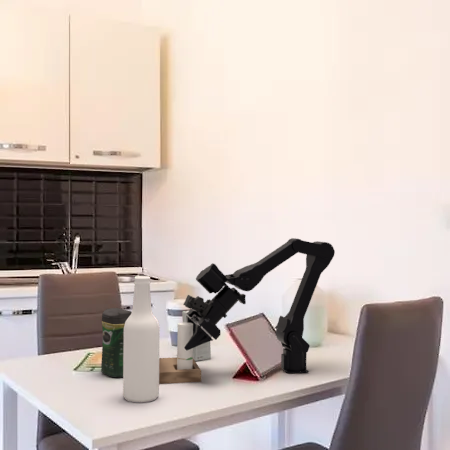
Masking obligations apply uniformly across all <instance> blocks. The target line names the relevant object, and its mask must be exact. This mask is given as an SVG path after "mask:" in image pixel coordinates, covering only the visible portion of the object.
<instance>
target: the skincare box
mask: <svg viewBox="0 0 450 450" xmlns="http://www.w3.org/2000/svg"><path fill="white" fill-rule="evenodd" d="M188 311H189V310H184V311H182V313H181V315H182V323H185V322H186V323H187V318H186V316H188V315H187V313H188ZM188 317H189V316H188ZM211 352H212V351H211V341H209V342H206V343H204V344H201V345H199V346H197V347H194V348H193V359H194V360H195V362H196V361H197V362H198V361H205V360H211V358H212V354H211Z"/></svg>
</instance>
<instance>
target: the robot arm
mask: <svg viewBox="0 0 450 450" xmlns="http://www.w3.org/2000/svg"><path fill="white" fill-rule="evenodd" d="M298 253H299V254H303V255H305V256H306V257H305V270H304V272H303V275H302V278H301V281H300V283H299V285H298V288H297V291H296V293H295V296H294V298H293V300H292V304H291V306H290V308H289V311H288V313H287V314H286V315H284V316H283V315H279V318H278V321H277V324H276V325H275V326H274V329H276V330H275V336H276V338H277V340H278V341H279V342H280V343H281V346H282V348H283V349H282V353H281V356H280V359H281V360H280V362H281V363H280V369H282V370H283V371H284V372H285V373H287V374H300V373H309V369H307V354H308V352H309V349H310V347H311V345H310V344H309V342H307V341H306V340H305V338H303V335H304V330H305V322H304V321H305V316H306V313H307V310H308V309H309V306H310V304H311V300H312V299H313V295H314V293H315V291H316V288H317V284H318V283H319V279H320V277H321V274H322V273H323V272H324V271H325V269H327V268H328V267H329V265H330V264H331V262H332V261H333V258H334V257H335V254H336V253H335V248H334V246H333V245H332V243H330V242H328V241H327V242H325V241H313V242H310V241H307V240H302V239H299V238H296V237H295V238H293V237H291V238H289V239H288V240H287V241H286V242H285V243H283V244H282V245H280V246H278V248H276V249H275V250H273V251H271V252H270V253H268V254H267V255H266V256H264V257H263V258H262V259H259V261H257V262H254V263H252V264H249V265H248V264H247V265H246V266H244V267H241V268H239V269H237V270H235V271H234V272H233V273H230V274H224V273H223V272H222V270H220V268H219V267H218V265H217V264H216V263H211V264H210V265H209V266H207V267H205V268H204V269H202V270H201V271H200V272H199V273H198V275H196V278H195V281H196V282H197V283H198V284H199V285H201V286H202V287H203V289H205V290H206V291H207V293H208V294H216V295H215V296H214V297H213V298H212V299H207V300H204V298H203V297H201V296H199V295H198V296H197V295H196V297H194V296H193V295H190V294H187V295H186V298H185V301H184V302H183V306H184V307H186V308H188V309H189V310H187V311H188V313H187V315H188V316H189V317H188V316H186V318H187V323H193V336H192V337H191V338H190V340H189V341H188V343H187V344H186V346H185V347H184V348H185V349H186V350H190V349H192V348H194V347H197V346H199V345H201V344H204V343H206V342H209V341H210V342H213V341H214V340H217V339H218V338H219V337H221V329H220V328H219V327H218V325H217V324H218V323H219V322H220V321H221V320H222V319H223V318H224V319H225V318H226V317H228V312H229V311H231V310H232V308H233V307H234V306H235V305H236V304H237V302H239V304H242V305H246V296H247V295H246V294H245V293H240V291H242V292H243V291H244V292H251V291H252V290H254V288H255V287H257V285H259V284H260V283H261V282H262V280H263V279H264V277H265V276H266V275H267V274H268V273H270V272H272V271H273V270H275V269H276V268H277V267H278V266H280V265H281V264H283V263H284V262H286V261H287V260H289V259H291V258H292V257H294V256H295V255H296V254H298ZM228 284H229V285H230V286H234V287H230V286H229V285H228ZM238 289H239V290H240V291H239V290H238Z"/></svg>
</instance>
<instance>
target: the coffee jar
mask: <svg viewBox="0 0 450 450" xmlns="http://www.w3.org/2000/svg"><path fill="white" fill-rule="evenodd" d="M131 313H132V310H128V309H123V308H119V307H111V308H106V309H104V311H103V312H102V315H101V327H102V343H101V344H102V347H101V365H100V366H101V367H100V369H101V370H100V371H101V373H102V374H104V375H106V376H109V377H113V378H117V377H121V378H123V353H124V325H125V322H126V320H127V319H128V317H129V316H130V315H131Z"/></svg>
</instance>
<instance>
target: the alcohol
mask: <svg viewBox="0 0 450 450" xmlns="http://www.w3.org/2000/svg"><path fill="white" fill-rule="evenodd" d="M133 279H134V282H133V284H134V287H133V297H132V298H133V299H132V300H133V301H132V309H131V312H132V313H131V315H130V316H129V317H128V319H127V320H126V322H125V325H124V353H123V377H122V378H123V379H122V381H123V382H122V384H123V385H122V395H123V398H124V399H125V400H126V401H128V402H131V403H137V404H138V403H149V402H152V401H155V400H157V399H158V396H159V395H160V384H159V358H160V331H161V330H160V329H161V327H160V324H159V323H160V322H159V320H158V318H156V316H155V315H154V313H153V311H152V310H153V309H152V297H151V286H150V285H151V277H150V276H148V275H135V277H133Z"/></svg>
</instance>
